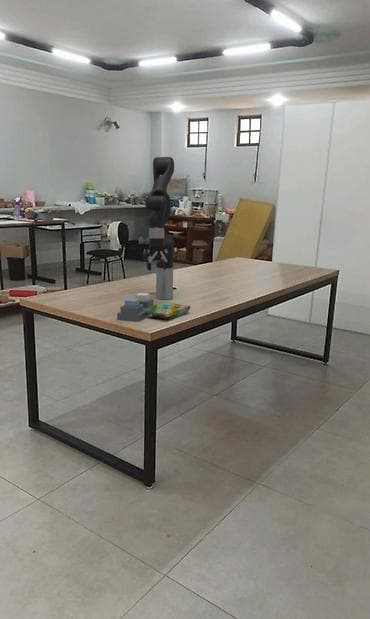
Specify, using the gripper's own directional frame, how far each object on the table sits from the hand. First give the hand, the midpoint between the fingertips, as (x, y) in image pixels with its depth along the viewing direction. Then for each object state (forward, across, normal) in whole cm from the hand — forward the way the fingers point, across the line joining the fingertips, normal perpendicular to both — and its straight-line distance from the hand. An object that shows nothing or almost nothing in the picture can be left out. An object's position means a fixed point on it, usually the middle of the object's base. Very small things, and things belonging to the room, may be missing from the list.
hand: (157, 269), depth 237 cm
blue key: (+14, +20, +13) cm, 28 cm away
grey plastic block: (+20, +15, +9) cm, 26 cm away
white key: (+14, +10, +5) cm, 18 cm away
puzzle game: (+21, +3, +16) cm, 26 cm away
